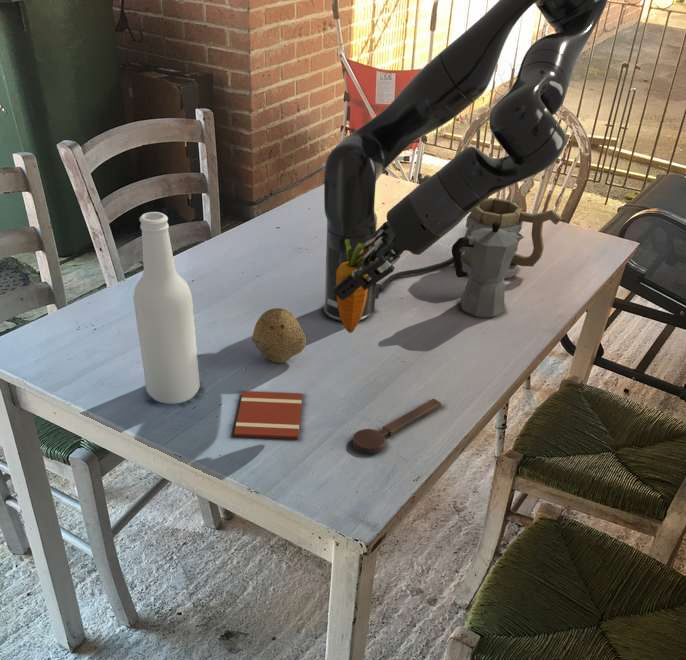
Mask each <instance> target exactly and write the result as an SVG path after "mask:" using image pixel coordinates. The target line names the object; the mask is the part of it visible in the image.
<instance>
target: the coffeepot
mask: <svg viewBox="0 0 686 660" xmlns="http://www.w3.org/2000/svg"><path fill="white" fill-rule="evenodd" d="M500 225H501V224H500V223H499V222H492V229H491V228H481V229H478V230H476V231H473V232H471V236H467V235H466V236H467V237H466V236H462V237H459V238H458V239H457V240H456V241H455V242H454V243H453V245H452V246H451V254H452V257H453V260H454V261H453V265H454V270H455V271H454V272H455V275H456V277H457V278H466V277H467V276H468V278H467V280H466V284H465V285H464V290H463V293H462V295H461V298H460V307H461V310H462V311H464V312H465V313H466V314H468V315H471V316H474V317H478V318H493V317H498V316H499V315H501V314H502V313H503V312H505V278H504V276H505V274H506V273H507V272H508V269H509V266H510V263H511V261H512V258H513V255H514V252H515V249H516V246H517V244H518V245H519V243H520V241H521V240H523V239H524V238H525V236H523V235H522V234H521V233H519V234H517V233H514V232H507V231H504V230H502V229H499V227H500ZM518 242H519V243H518ZM463 247H471V269H472V270H471V274H470V275H467V272H464V271H463V270H462V262H461V252H460V251H461V249H462V248H463Z"/></svg>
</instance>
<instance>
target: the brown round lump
mask: <svg viewBox="0 0 686 660" xmlns="http://www.w3.org/2000/svg"><path fill="white" fill-rule="evenodd" d="M253 329H254V330H253V333H252V341H253V344H254V345H255V347H256V348H257V349H258V350H259V352H260V353H261V354H262V355H264V356H265V357H266V358H267V359H268V360H270V361H271V362H273V363H274V364H275V363H276V364H281V363H284V362H287V361H289V360H290V359H291V358H293V357H295V356H296V355H298V354H300V353H301V352H302V351H304V349H305V348H306V345H307V338H306V335H305V333H304V331H303V328H302V327H301V324H300V323H299V321H298V319H297V318H296V317H295V316H294V315H293V313H291V312H290V311H289V310H287V309H284V308H281V307H280V308H278V307H275V308H271V309H267V310H266V311H264V312H263V313H262V314H261V315H260V317H259V318H258V320H257V322H256V323H255V325H254V328H253Z"/></svg>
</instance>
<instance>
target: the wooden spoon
mask: <svg viewBox="0 0 686 660" xmlns="http://www.w3.org/2000/svg"><path fill="white" fill-rule="evenodd" d="M441 406H442V402H441V401H439V400H437V399H435V398H432V399H430V400H428V401H427V402H425V403H423V404H421V405H420V406H418V407H417V408H414V409H412V410H410V411H409V412H407V413H406V414H404V415H402V416H400V417H398V418H396V419H395V420H393V421H392V422H389V423H387V424H386V425H384V426H383V427H382V429H381V430H376V429H371V428H364V429H360V430H358V431H356V432H355V433H354V434H353V437H352V446H353V448H354V449H355V450H356V451H357V452H359V453H362V454H366V455H375V454H378V453H380V452H382V451H383V450H384V448H385V446H386V437H392V436H393V435H395V434H397V433H398V432H400V431H402V430H403V429H406V428H407V427H409V426H411V425H412V424H414V423H415V422H417V421H419V420H421V419H423V418H424V417H426V416H427V415H429V414H431V413H433V412H434V411H436V410H438V409H440V408H441Z"/></svg>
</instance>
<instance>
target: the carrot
mask: <svg viewBox="0 0 686 660" xmlns="http://www.w3.org/2000/svg"><path fill="white" fill-rule="evenodd" d="M345 244H346V254H347V258H348V262H343V263H342V264H341V265H340V266H339V268H338V269H337V272H336V286H337V285H338V284H339V283H340V282H341V281H343V280H344V279H345V278H346V277H347V276H349V275H350V274H351V273H352V272H353V271H354V270H355V269H356V268H357V267H358V266H359V265H360V264H361V258H362V257H359V258H358V255H359V254H360V252H361V250H362V249H363V248H364V246H365V245H366V244H364V243H363V244H361V243H358V245H357V246H356V248H355V250H354V252H353V255H352V251H351V244H350V241H349V239H347V240H345ZM363 276H364V277H365V278H366V277H367V276H368V274H365V275H363ZM367 293H368V289H366V290H364V289H363V288H362V287H361V286H360V287H359V288H358V289H357V290H356V291H354V292H353V293H352V294H351V295H349V296H348V297H347V298H346V299H344V300H341V299H340V298H339V297H338V296H337V295H336V297H337V304H338V310H339V315H340V317H341V320H342V321H341V323H342V325H343V326H344V329H345V330H346V331H347V332H348V334H352V333H353V332H354V331H355V329H356V328H357V326H358V324H359V322H361V320H360V318H361V316H362V314H363V310H364V307H365V303H366V299H367Z"/></svg>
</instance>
